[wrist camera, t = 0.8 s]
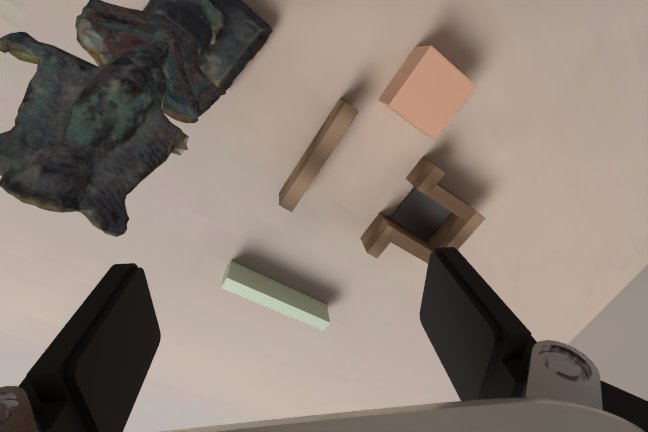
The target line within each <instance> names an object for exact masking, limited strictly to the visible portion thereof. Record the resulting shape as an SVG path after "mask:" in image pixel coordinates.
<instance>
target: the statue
mask: <svg viewBox="0 0 648 432" xmlns="http://www.w3.org/2000/svg"><path fill="white" fill-rule="evenodd" d="M76 29H77V41H78V42H79V43H80V45H81V46H82V47H83V48H84V49H85V50H86V51H87V52H88V53H89V54H90V55H91V56H92V57H93V58H94V60H95V61H96V63H97V64H98V66H99V67H98V66H95V65H93V64H91V63H89V62H87V61H85V60H82V59H80V58H78V57H76V56H74V55H72V54H70V53H67V52H65V51H63V50H61V49H59V48H57V47H55V46H53V45H49V44H45V43H41V42H38V41H36V40H35V39H34V38H33V37H31V36H30V35H29V34H27V33H25V32H17V33H10V34H8V35H5V36H4V37H2V38H0V51H2V52H4V53H6V52H9V53H10V54H12V55H13V56H15V57H16V58H18V59H19V60H22V61H26V62H30V63H34V64H38V67H37V72H36V73H35V75H34V77H33V78H32V79H31V81H30V82H29V85H28V88H27V91H26V93H25V96H24V99H23V101H22V103H21V105H20V107H19V109H18V114H17V117H16V119H15V126H14V127H13V128H12V129H11V130H10V131H7V132H4V133H1V134H0V176H2V178H1V180H0V186H1V187H2V188H3V189H4V190H5V191H6V192H7V193H9V194H11V195H13V196H14V197H16V198H17V199H19V200H20V201H21V202H23V203H27V204H31V205H35V206H37V207H39V208H41V209H45V210H49V211H54V212H73V211H78V212H81V213H82V214H84V215H85V216H86V217H87V219H88V220H89V221H90V222H91V223H92V224H93V226H95V227H97V228H98V229H100V230H102V231H104V232H105V233H106V234H109V235H112V236H115V237H117V236H120V235H122V234H124V233H125V231H126V230H127V225H126V224H127V222H128V220H129V217H128V215H127V211H126V207H125V198H126V195H127V194H129V193H130V192H131V191H132V190H133V189H134V188H135V187H136V186H137V185H138V184H139V183H140V182H141V181H142V180H143V179H145V178H146V177H147V176H148V175H149V174H150V173H151V172H153V171H154V170H155V169H156V168H157V167H159V166H160V165H161V164H162V163H164V162H165V161H166V160H167V158H168V157H169V155H170V154H171V153H174V154H177V155H181V154H182V153H183V151H184V150H188V148H187V145H186V144H187V141H188V138H189V136H187V135H186V134H184V133H183V132H182V130H181V129H180V128H178V127H177V126H175V125H174V124H172V123H171V122H170V121H169V120H168V118H167V117H166V116H165V115H164V113H165V114H167V115H168V116H170V117H171V118H173V119H175V120H178V121H180V122H184V123H195V122H197V121H198V117H199V116H201V115H202V114H203V113H204V112H206V111H207V110H208V109H209V108H210V107H211V105H213V104H214V103H215V102H216V101H217V100H218V99H219V98H220V96H221V95H224V94H226V90H227V89H228V88H229V87H230V86H231V84H232V82H233V81H234V79H235V78H236V76H237V75H239V74H240V72H241V71H242V70H243V69H244V67H245V66H246V65H247V64H248V63H249V62H250V61H251V60H252V59H253V58H254V56H255V55H256V53H257V52H258V51H259V50H260V49H261V48H262V47H263V45H264V44H265V43H266V41H267V39H268V36H269V34H270V33H271V32H273V31H272V29H271V27H270V26H269V25H268V24H267V23H266V22H265V21H263V20H262V19H261V18H260V17H259V16H257V15H256V14H255V13H254V12H253V11H252V10H251V8H249V7H248V6H247V5H246V4H245V3H243V2H242V1H240V0H150V1H149V3H148V4H147V6H146V7H145V8H144V10H143V11H140V10H135V9H129V8H125V7H121V6H117V5H113V4H109V3H106V2H104V1H101V0H90V1H89V2H88V4H87V5H86V6H85V7H84V8H83V10H82V14H81V15H79V16H77V19H76Z"/></svg>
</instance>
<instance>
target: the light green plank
mask: <svg viewBox="0 0 648 432" xmlns="http://www.w3.org/2000/svg"><path fill="white" fill-rule="evenodd" d="M221 288H223V289H226V290H228V291H230V292H233V293H235V294H238V295H240V296H242V297H245V298H247V299H249V300H252V301H254V302H256V303H259V304H261V305H263V306H266V307H268V308H271V309H273V310H275V311H278V312H280V313H282V314H285V315H287V316H289V317H292V318H294V319H297V320H299V321H301V322H304V323H306V324H308V325H311V326H313V327H315V328H318V329H320V330H322V331H324V330H325V328H326V327H327V326H328V325H329V324H330V319H329V314H328V309H327V304H325V303H323V302H320V301H318V300H316V299H314V298H312V297H309V296H307V295H305V294H303V293H301V292H298V291H296V290H294V289H292V288H290V287H288V286H285V285H283V284H281V283H279V282H277V281H274V280H272V279H270V278H268V277H266V276H263V275H261V274H259V273H257V272H255V271H252V270H250V269H248V268H246V267H244V266H242V265H239V264H237V263H235V262H233V261H231V262H230V263H229V265H228V266H227V268H226V269H225V273H224V277H223V281H222V285H221Z"/></svg>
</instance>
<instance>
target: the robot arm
mask: <svg viewBox="0 0 648 432" xmlns="http://www.w3.org/2000/svg"><path fill="white" fill-rule="evenodd" d="M420 320H421V324H422V326H423V328H424V330H425V331H426V333H427V335H428V337H429V339H430V341H431V343H432V345H433V347H434V349H435V351H436V353H437V355H438V357H439V359H440V361H441V363H442V365H443V366H444V368H445V370H446V372H447V374H448V376H449V378H450V380H451V382H452V384H453V386H454V388H455V390H456V392H457V394H458V396H459V398H460V400H461V401H458V402H445V403H434V404H424V405H414V406H403V407H393V408H383V409H372V410H362V411H352V412H342V413H332V414H322V415H313V416H303V417H293V418H283V419H274V420H264V421H254V422H245V423H236V424H226V425H217V426H208V427H199V428H190V429H180V430H171V431H162V432H648V401H646V400H643V399H641V398H639V397H637V396H635V395H632V394H630V393H627V392H625V391H623V390H621V389H619V388H617V387H614V386H612V385H610V384H608V383H605V382H603V381H601V380H600V375H599V372H598V369H597V368H596V366H595V365H594V363H593V362H592V361H591V360H590V359H589V358H588V357H587V356H586V355H584V354H583V353H582V352H580V351H578V350H577V349H575V348H573V347H571V346H569V345H567V344H564V343H561V342H557V341H550V340H545V341H539V342H538V343H537V342H536V341H535V339H534V338H533V337H532V336H531V332H530V331H529V330H528V329H527V328H526V327H525V326H524V324H523V323H522V322H521V321H520V320H519V319H518V318H517V317H516V315H515V314H514V313H513V312H512V311H511V310H510V309H509V308H508V306H507V305H506V304H505V303H504V302H503V301H502V300H501V299H500V297H499V296H498V295H497V294H496V293H495V292H494V291H493V289H492V288H491V287H490V286H489V285H488V284H487V283H486V282H485V280H484V279H483V278H482V277H481V276H480V275H479V274H478V273H477V271H476V270H475V269H474V268H473V267H472V266H471V265H470V264H469V262H468V261H467V260H466V259H465V258H464V257H463V256H462V255H461V253H460V252H459V251H458V250H457V249H456V248H455V247H440V248H436V250H435V252H432V253H431V254H430V257H429V263H428V269H427V274H426V280H425V286H424V292H423V297H422V303H421V309H420ZM160 337H161V334H160V329H159V325H158V321H157V318H156V314H155V310H154V306H153V303H152V299H151V295H150V292H149V288H148V284H147V280H146V277H145V273H144V270H143V269H142V268H138V266H137V265H136V264H134V263H131V264H115V265H113V266H112V267H111V268H110V269H109V271H108V272H107V273H106V274H105V276H104V277H103V278H102V279H101V281H100V282H99V283H98V285H97V286H96V287H95V288H94V290H93V291H92V292H91V293H90V295H89V296H88V297H87V299H86V300H85V301H84V302H83V304H82V305H81V306H80V307H79V309H78V310H77V311H76V312H75V314H74V315H73V316H72V318H71V319H70V320H69V321H68V323H67V324H66V325H65V326H64V328H63V329H62V330H61V332H60V333H59V334H58V335H57V337H56V338H55V339H54V340H53V342H52V343H51V344H50V345H49V347H48V348H47V349H46V351H45V352H44V353H43V354H42V356H41V357H40V358H39V359H38V361H37V362H36V363H35V365H34V366H33V367H32V368H31V370H30V371H29V372H28V373H27V375H26V377H25V379H24V380H23V381H22V383H21V384H20V385H19V386H18V387H17V386H5V387H1V388H0V432H123V430H124V427H125V425H126V423H127V420H128V418H129V415H130V413H131V411H132V408H133V406H134V403H135V401H136V399H137V396H138V394H139V391H140V389H141V387H142V384H143V382H144V379H145V377H146V375H147V372H148V370H149V367H150V365H151V363H152V360H153V358H154V355H155V353H156V351H157V348H158V346H159V343H160Z"/></svg>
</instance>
